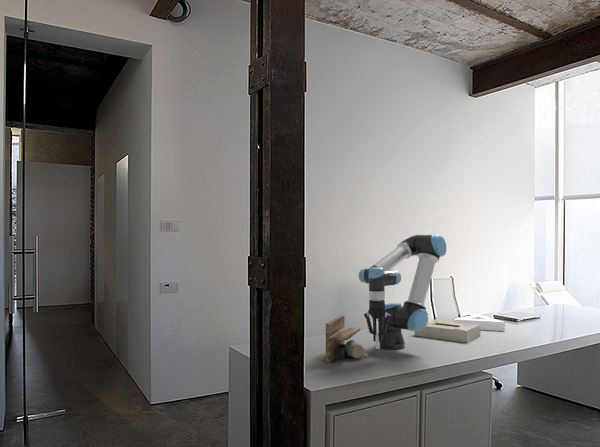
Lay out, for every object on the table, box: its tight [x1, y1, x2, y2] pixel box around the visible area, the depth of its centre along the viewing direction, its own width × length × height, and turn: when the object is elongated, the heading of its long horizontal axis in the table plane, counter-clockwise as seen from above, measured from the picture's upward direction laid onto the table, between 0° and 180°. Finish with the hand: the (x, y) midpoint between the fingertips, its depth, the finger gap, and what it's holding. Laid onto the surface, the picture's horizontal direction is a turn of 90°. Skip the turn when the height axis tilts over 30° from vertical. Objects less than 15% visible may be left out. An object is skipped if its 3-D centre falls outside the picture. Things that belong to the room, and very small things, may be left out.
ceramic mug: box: [344, 339, 368, 359], centre depth 238 cm, size 11×8×8 cm
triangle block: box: [453, 314, 506, 332], centre depth 317 cm, size 30×26×6 cm
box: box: [413, 319, 481, 343], centre depth 287 cm, size 23×8×32 cm
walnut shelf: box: [325, 314, 361, 363], centre depth 238 cm, size 10×26×18 cm, turn 159°
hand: (377, 348), depth 233 cm, fingers closed
